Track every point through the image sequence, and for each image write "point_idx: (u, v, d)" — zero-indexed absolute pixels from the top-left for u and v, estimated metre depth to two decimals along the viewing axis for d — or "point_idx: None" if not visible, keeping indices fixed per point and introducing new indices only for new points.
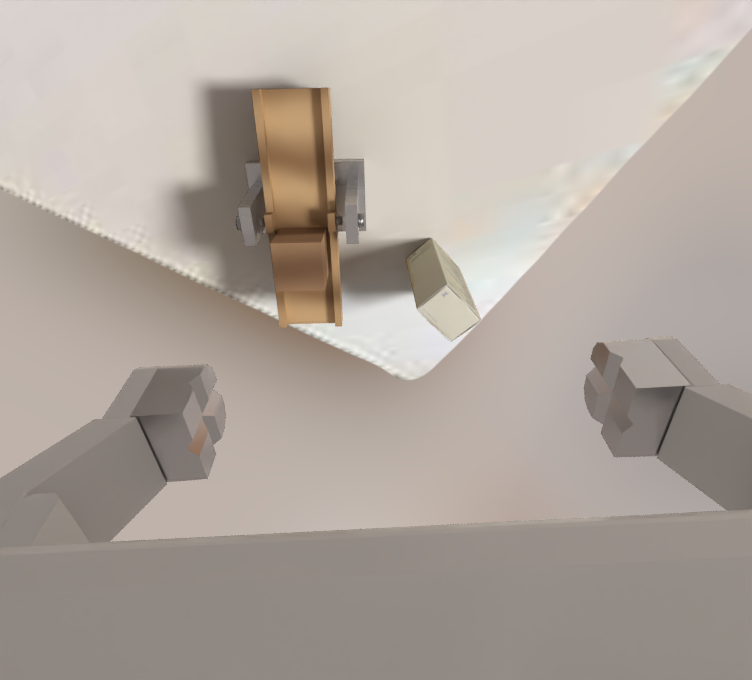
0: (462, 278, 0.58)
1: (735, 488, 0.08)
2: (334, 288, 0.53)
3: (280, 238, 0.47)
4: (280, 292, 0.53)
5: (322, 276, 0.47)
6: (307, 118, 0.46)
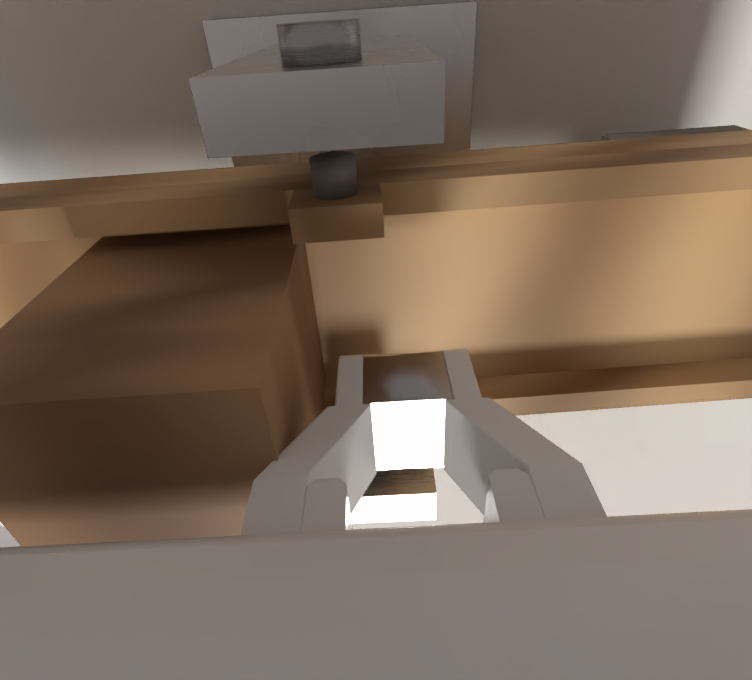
0: None
1: None
2: None
3: (284, 350, 0.08)
4: None
5: None
6: (687, 321, 0.14)
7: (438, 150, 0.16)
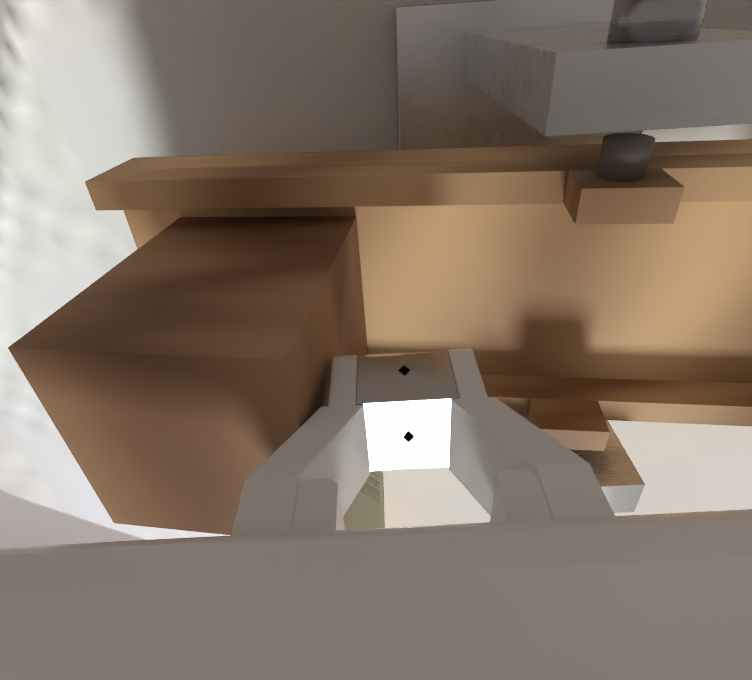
0: None
1: None
2: None
3: (319, 331, 0.09)
4: (259, 199, 0.11)
5: (172, 525, 0.10)
6: None
7: None
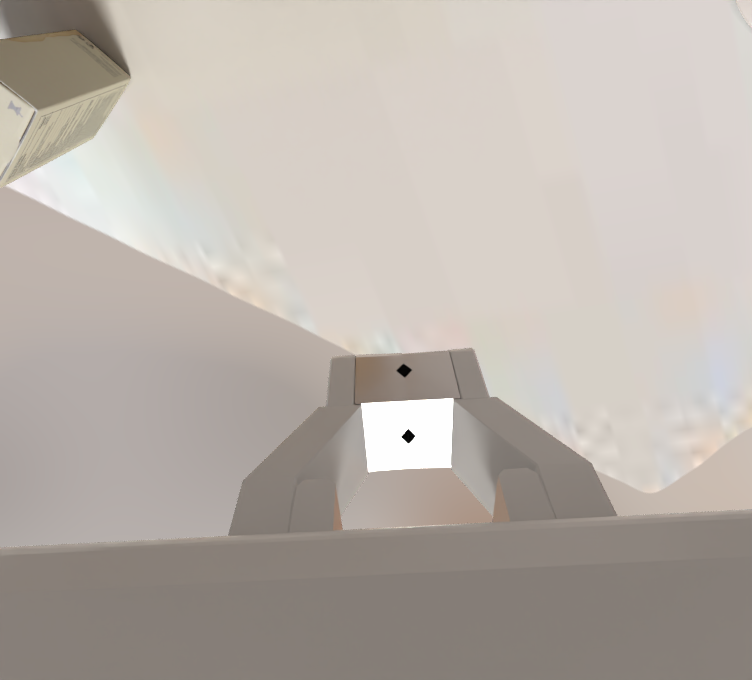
0: (74, 144, 0.34)
1: None
2: None
3: None
4: None
5: None
6: None
7: None
